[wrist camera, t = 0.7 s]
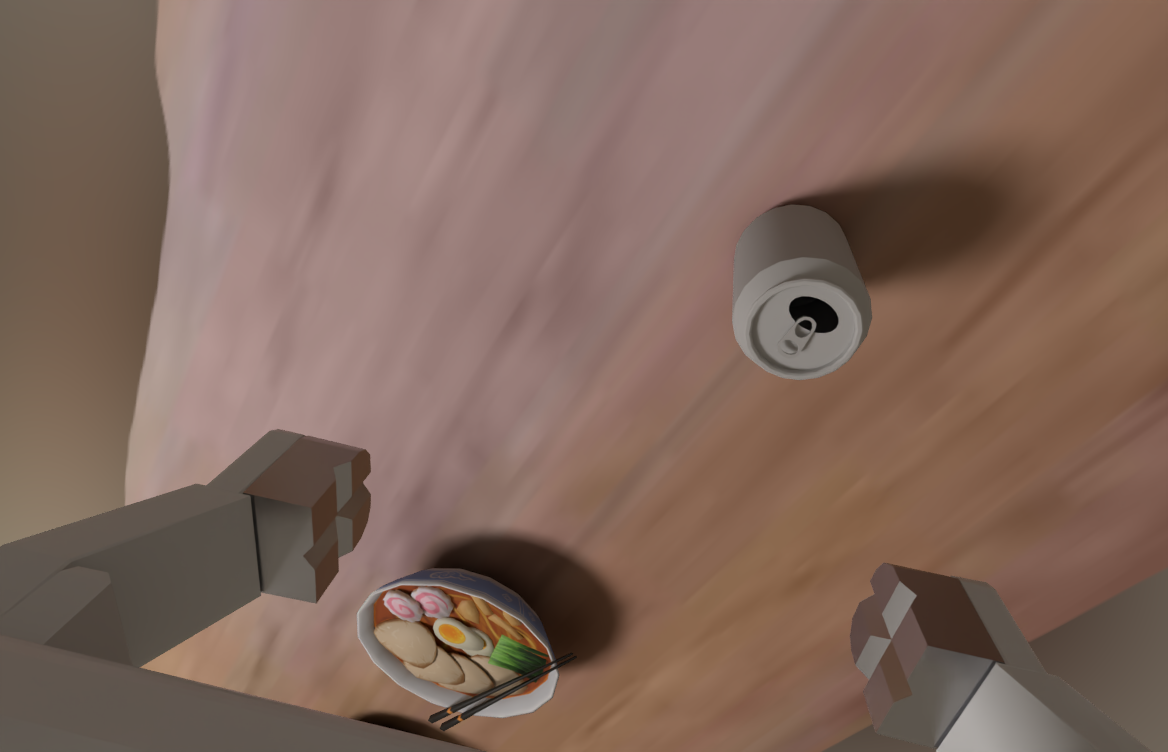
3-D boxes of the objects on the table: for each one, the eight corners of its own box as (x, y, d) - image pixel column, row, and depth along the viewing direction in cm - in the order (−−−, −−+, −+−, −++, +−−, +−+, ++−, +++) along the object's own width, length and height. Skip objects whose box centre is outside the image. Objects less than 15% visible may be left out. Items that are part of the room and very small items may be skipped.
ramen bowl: (467, 491, 63) (434, 553, 57) (623, 619, 69) (610, 689, 62) (348, 581, 76) (310, 639, 69) (487, 682, 82) (465, 746, 75)
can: (870, 237, 42) (910, 317, 32) (798, 320, 46) (814, 413, 36) (777, 179, 41) (789, 242, 31) (713, 268, 45) (705, 349, 36)
